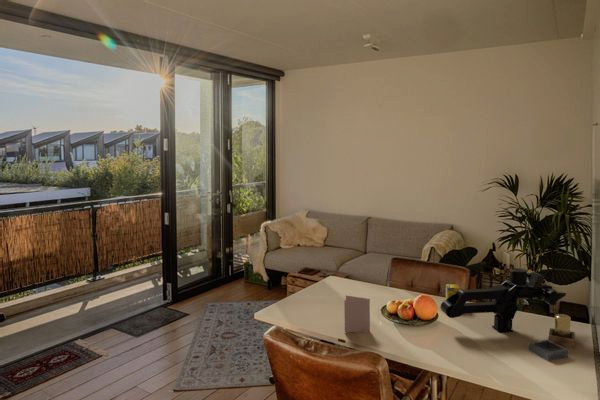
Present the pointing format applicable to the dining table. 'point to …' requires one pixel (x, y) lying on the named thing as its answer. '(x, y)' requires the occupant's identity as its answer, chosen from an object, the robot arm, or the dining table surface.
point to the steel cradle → (548, 350)
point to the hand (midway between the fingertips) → (558, 290)
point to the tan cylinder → (562, 325)
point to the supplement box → (451, 290)
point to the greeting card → (357, 314)
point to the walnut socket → (563, 339)
